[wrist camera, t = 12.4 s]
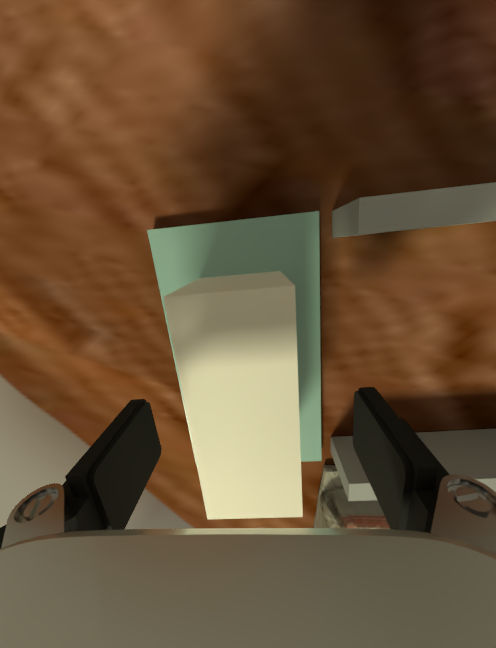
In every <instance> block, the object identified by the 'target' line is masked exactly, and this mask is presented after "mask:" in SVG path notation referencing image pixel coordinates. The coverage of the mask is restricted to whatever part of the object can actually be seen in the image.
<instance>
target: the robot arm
mask: <svg viewBox="0 0 496 648" xmlns="http://www.w3.org/2000/svg"><path fill="white" fill-rule="evenodd" d="M353 446H354V450H355V452H356V454H357V456H358V459H359V461H360V463H361V465H362V467H363V470H364V472H365V474H366V476H367V478H368V480H369V483H370V485H371V487H372V489H373V491H374V494H375V496H376V498H377V500H378V502H379V505H380V507H381V509H382V511H383V513H384V515H385V518H386V520H387V522H388V524H389V526H390V529H354V528H219V529H133V530H132V529H131V530H130V529H129V530H128V529H127V530H124V529H125V527H126V525H127V523H128V521H129V519H130V517H131V515H132V513H133V511H134V509H135V506H136V504H137V502H138V500H139V498H140V496H141V494H142V492H143V490H144V488H145V486H146V484H147V482H148V480H149V478H150V476H151V474H152V472H153V470H154V468H155V466H156V464H157V462H158V460H159V457H160V455H161V445H160V441H159V437H158V434H157V430H156V426H155V422H154V418H153V414H152V410H151V406H150V403H149V402H146V400H145V399H138V400H131V401H130V402H129V403H128V404H127V405H126V406H125V408H124V409H123V410H122V411H121V412H120V413H119V415H118V416H117V417H116V418H115V419H114V420H113V422H112V423H111V424H110V425H109V426H108V427H107V429H106V430H105V431H104V432H103V433H102V434H101V436H100V437H99V438H98V439H97V440H96V441H95V443H94V444H93V445H92V446H91V447H90V448H89V449H88V451H87V452H86V453H85V454H84V455H83V456H82V458H81V459H80V460H79V461H78V462H77V464H76V465H75V466H74V467H73V468H72V469H71V470H70V472H69V473H68V474H67V475H66V477H65V478H66V482H65V483H64V484H63V485H60V484H49V485H46V486H43V487H41V488H39V489H37V490H35V491H33V492H32V493H30V494H29V495H27V496H26V497H25V498H24V499H22V500H21V501H20V502H19V503H18V504H17V505H16V506H15V508H14V509H13V510H12V512H11V513H10V515H9V518H8V520H7V524H6V525H5V526H3V527H1V528H0V648H496V492H495V491H494V490H492V489H491V488H490V487H488V486H487V485H485V484H484V483H482V482H480V481H478V480H476V479H473V478H470V477H467V476H465V475H458V474H451V475H450V474H449V473H448V472H447V471H446V469H445V468H444V467H443V466H442V464H441V463H440V462H439V461H438V460H437V458H436V457H435V456H434V455H433V454H432V452H431V451H430V450H429V449H428V448H427V446H426V445H425V444H424V443H423V442H422V440H421V439H420V438H419V437H418V435H417V434H416V433H415V432H414V431H413V429H412V428H411V427H410V426H409V425H408V423H407V422H406V421H405V420H404V419H402V418H399V417H398V416H397V415H396V414H395V412H394V411H393V410H392V409H391V407H390V406H389V405H388V404H387V402H386V401H385V400H384V399H383V397H382V396H381V395H380V394H379V392H378V391H377V390H376V389H375V388H374V387H364V388H359V391H356V392H355V395H354V420H353Z"/></svg>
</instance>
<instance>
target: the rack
mask: <svg viewBox="0 0 496 648" xmlns="http://www.w3.org/2000/svg"><path fill="white" fill-rule="evenodd" d="M491 221H496V182H494V183H485V184H476V185H467V186H458V187H450V188H441V189H432V190H423V191H414V192H406V193H397V194H388V195H379V196H370V197H361V198H358V199H356V200H354V201H352V202H350V203H348V204H346V205H344V206H342V207H340V208H338V209H336V210H333V211H332V238H336V237H346V236H355V235H365V234H375V233H384V232H394V231H404V230H413V229H423V228H433V227H442V226H452V225H462V224H471V223H481V222H491ZM416 434H417V435H418V437H419V438H420V439H421V440H422V442H423V443H424V444H425V445H426V446H427V448H428V449H429V450H430V451H431V452H432V454H433V455H434V456H435V457H436V458H437V460H438V461H439V462H440V463H441V464H442V466H443V467H444V468H445V469H446V471H447V472H448V473H449V474H450V475H451V474H458V475H465V476H467V477H470V478H473V479H476V480H478V481H480V482H482V483H484V484H485V485H487V486H488V487H490V488H491V489H492V490H494V491H495V492H496V429H477V430H457V431H438V432H418V433H416ZM331 454H332V457H333V460H334V462H335V465H336V468H337V471H338V473H339V476H340V479H341V482H342V485H343V487H344V490H345V493H346V496H347V498H348V501H370V500H377V498H376V496H375V494H374V491H373V489H372V487H371V485H370V483H369V480H368V478H367V476H366V474H365V472H364V470H363V467H362V465H361V463H360V461H359V459H358V456H357V454H356V452H355V450H354V446H353V436H340V437H331Z"/></svg>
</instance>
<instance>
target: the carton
mask: <svg viewBox="0 0 496 648" xmlns="http://www.w3.org/2000/svg"><path fill="white" fill-rule="evenodd" d="M163 298H164V303H165V308H166V313H167V318H168V323H169V328H170V333H171V338H172V343H173V348H174V353H175V358H176V363H177V368H178V373H179V378H180V383H181V388H182V393H183V398H184V403H185V408H186V413H187V418H188V423H189V428H190V433H191V438H192V443H193V448H194V453H195V458H196V463H197V468H198V474H199V479H200V484H201V489H202V494H203V499H204V504H205V509H206V514H207V519H238V518H277V517H303V512H302V481H301V451H300V421H299V390H298V360H297V330H296V300H295V285H294V284H293V283H292V282H291V281H290V280H289V279H288V278H287V277H286V276H285V275H284V274H283V273H282V272H281V271H273V272H262V273H251V274H240V275H229V276H218V277H206V278H199V279H197V280H195V281H193V282H191V283H189V284H187V285H185V286H183V287H181V288H180V289H178V290H176V291H174V292H172V293H170V294H168V295H166V296H164V297H163Z"/></svg>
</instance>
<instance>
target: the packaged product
mask: <svg viewBox="0 0 496 648" xmlns="http://www.w3.org/2000/svg"><path fill="white" fill-rule="evenodd" d="M313 528H354V529H390V526H389V524H388V522H387V520H386V518H385V515H384V513H383V511H382V509H381V507H380V505H379V502H378V500H370V501H348V498H347V496H346V493H345V490H344V487H343V485H342V482H341V479H340V476H339V473H338V471H337V468H336V465H324V468H323V473H322V478H321V484H320V489H319V495H318V501H317V509H316V515H315V520H314V526H313Z"/></svg>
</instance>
